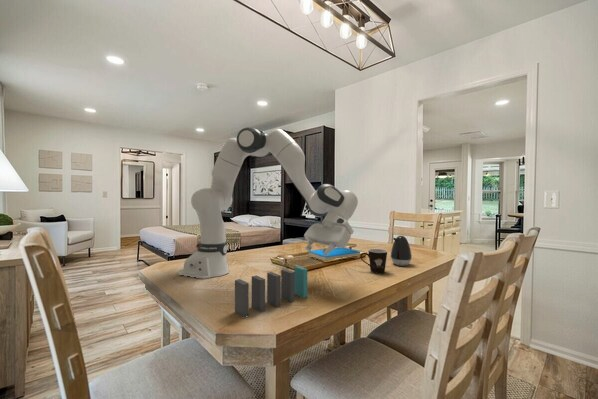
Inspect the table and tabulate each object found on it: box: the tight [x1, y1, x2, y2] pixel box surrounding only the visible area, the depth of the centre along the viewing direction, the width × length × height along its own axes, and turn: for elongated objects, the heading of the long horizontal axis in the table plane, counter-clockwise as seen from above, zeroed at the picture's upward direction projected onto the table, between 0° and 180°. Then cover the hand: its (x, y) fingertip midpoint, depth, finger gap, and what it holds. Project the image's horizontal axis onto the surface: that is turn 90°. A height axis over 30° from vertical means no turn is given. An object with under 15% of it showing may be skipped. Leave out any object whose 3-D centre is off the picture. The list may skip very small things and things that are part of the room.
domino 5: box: [293, 265, 308, 299], centre depth 98 cm, size 2×5×10 cm, turn 41°
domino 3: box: [266, 271, 282, 308], centre depth 91 cm, size 2×5×10 cm, turn 41°
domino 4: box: [280, 268, 295, 303], centre depth 95 cm, size 2×5×10 cm, turn 41°
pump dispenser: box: [390, 235, 413, 267], centre depth 142 cm, size 10×10×15 cm
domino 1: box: [234, 278, 250, 318], centre depth 83 cm, size 2×5×10 cm, turn 41°
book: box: [307, 247, 361, 260], centre depth 158 cm, size 17×4×25 cm
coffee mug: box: [360, 248, 388, 275], centre depth 130 cm, size 12×9×10 cm
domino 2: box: [251, 274, 266, 313], centre depth 87 cm, size 2×5×10 cm, turn 41°
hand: (315, 251), depth 103 cm, fingers open, 8 cm apart
